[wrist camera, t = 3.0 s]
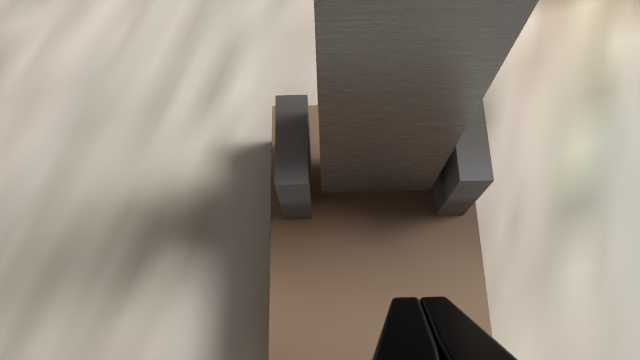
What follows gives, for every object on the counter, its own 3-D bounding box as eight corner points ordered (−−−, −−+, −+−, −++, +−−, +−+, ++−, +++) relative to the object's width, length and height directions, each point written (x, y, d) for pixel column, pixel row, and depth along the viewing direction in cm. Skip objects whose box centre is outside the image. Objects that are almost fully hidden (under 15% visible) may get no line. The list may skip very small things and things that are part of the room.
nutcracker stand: (471, 372, 16) (540, 373, 11) (277, 376, 16) (252, 378, 11) (445, 135, 19) (490, 46, 14) (279, 139, 19) (261, 51, 14)
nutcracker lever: (432, 209, 14) (796, -353, 3) (321, 211, 14) (300, -340, 3) (423, 123, 15) (687, -552, 4) (320, 125, 15) (298, -539, 4)
